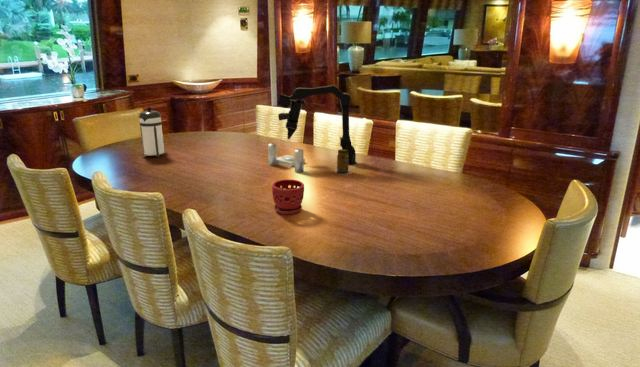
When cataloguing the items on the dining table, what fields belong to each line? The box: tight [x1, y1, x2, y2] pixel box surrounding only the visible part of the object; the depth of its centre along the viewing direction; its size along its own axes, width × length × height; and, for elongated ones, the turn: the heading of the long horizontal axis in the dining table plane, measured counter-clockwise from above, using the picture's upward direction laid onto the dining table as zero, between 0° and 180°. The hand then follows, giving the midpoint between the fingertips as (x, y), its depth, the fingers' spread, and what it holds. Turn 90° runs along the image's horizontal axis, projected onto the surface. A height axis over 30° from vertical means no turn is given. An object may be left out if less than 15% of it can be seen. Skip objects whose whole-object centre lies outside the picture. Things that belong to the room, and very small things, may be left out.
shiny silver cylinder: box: [294, 148, 305, 174], centre depth 249 cm, size 5×5×12 cm
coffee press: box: [138, 106, 167, 159], centre depth 281 cm, size 17×16×30 cm
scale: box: [277, 154, 306, 168], centre depth 268 cm, size 14×12×3 cm
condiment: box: [333, 148, 353, 175], centre depth 248 cm, size 7×8×12 cm
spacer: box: [267, 142, 278, 167], centre depth 263 cm, size 5×5×12 cm
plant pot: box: [271, 179, 305, 215], centre depth 193 cm, size 13×13×12 cm
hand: (288, 137), depth 262 cm, fingers open, 9 cm apart
